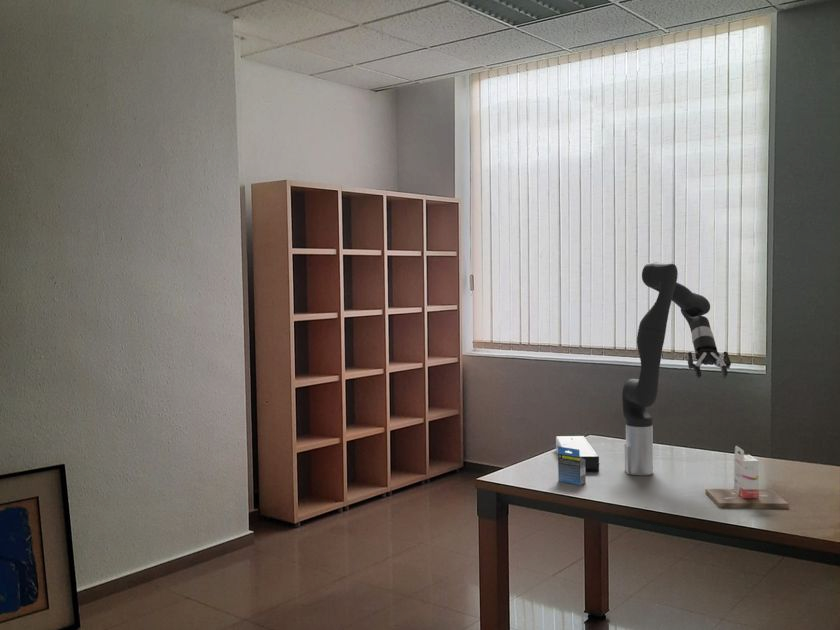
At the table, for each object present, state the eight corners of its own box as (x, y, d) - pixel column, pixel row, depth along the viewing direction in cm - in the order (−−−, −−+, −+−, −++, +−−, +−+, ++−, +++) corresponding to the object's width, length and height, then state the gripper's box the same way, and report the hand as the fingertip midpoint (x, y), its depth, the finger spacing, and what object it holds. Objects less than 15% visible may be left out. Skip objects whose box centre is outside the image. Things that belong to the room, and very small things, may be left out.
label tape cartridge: (586, 483, 261) (585, 447, 260) (580, 486, 258) (579, 449, 257) (563, 479, 267) (563, 444, 266) (557, 481, 264) (557, 446, 263)
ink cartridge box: (759, 498, 234) (759, 451, 233) (742, 498, 234) (743, 451, 234) (749, 490, 243) (749, 444, 242) (733, 490, 243) (733, 444, 242)
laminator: (556, 451, 309) (555, 436, 309) (587, 451, 308) (586, 435, 308) (567, 473, 275) (567, 456, 275) (602, 473, 274) (602, 456, 274)
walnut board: (719, 508, 231) (719, 502, 231) (705, 493, 246) (705, 488, 246) (788, 508, 229) (788, 503, 229) (770, 493, 244) (770, 488, 244)
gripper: (685, 335, 280) (693, 370, 269) (725, 334, 278) (735, 370, 268) (682, 348, 285) (689, 383, 275) (721, 347, 284) (731, 383, 273)
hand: (712, 376), depth 271 cm, fingers open, 8 cm apart
